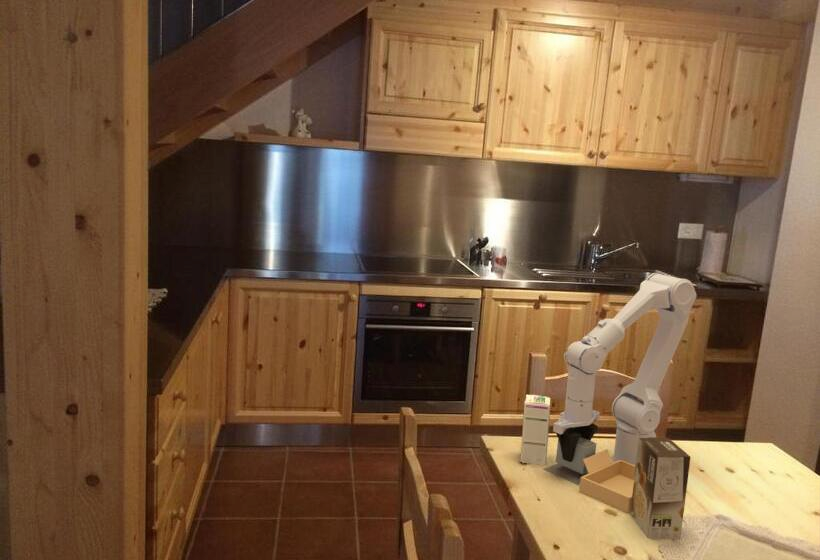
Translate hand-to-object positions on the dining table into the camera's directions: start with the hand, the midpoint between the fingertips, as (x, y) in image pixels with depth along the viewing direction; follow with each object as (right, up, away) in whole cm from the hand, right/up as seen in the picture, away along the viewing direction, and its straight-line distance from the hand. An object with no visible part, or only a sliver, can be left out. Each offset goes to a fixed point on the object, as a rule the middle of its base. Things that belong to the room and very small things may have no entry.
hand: (573, 457), depth 148 cm
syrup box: (-8, -2, +6) cm, 10 cm away
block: (0, -2, 0) cm, 2 cm away
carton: (+8, -5, -8) cm, 13 cm away
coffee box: (+10, -8, -21) cm, 25 cm away
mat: (0, -4, +1) cm, 4 cm away
